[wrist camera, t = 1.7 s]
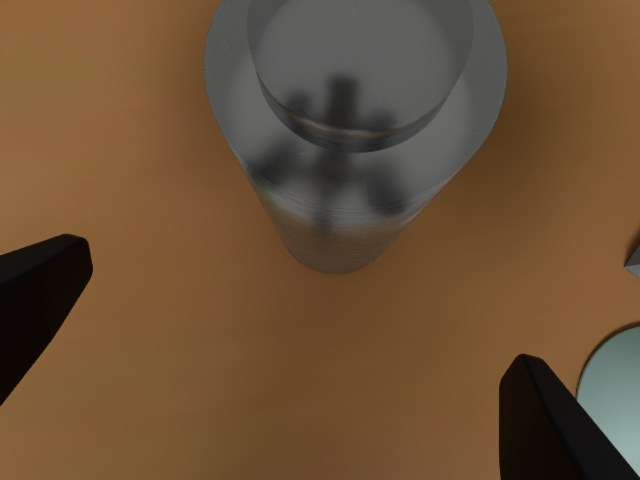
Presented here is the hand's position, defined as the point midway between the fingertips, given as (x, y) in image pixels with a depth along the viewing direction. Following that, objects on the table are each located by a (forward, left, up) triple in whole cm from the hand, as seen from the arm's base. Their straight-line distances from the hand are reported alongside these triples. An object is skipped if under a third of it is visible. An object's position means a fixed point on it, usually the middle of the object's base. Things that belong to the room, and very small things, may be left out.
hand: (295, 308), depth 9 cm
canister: (+4, +2, -11) cm, 12 cm away
